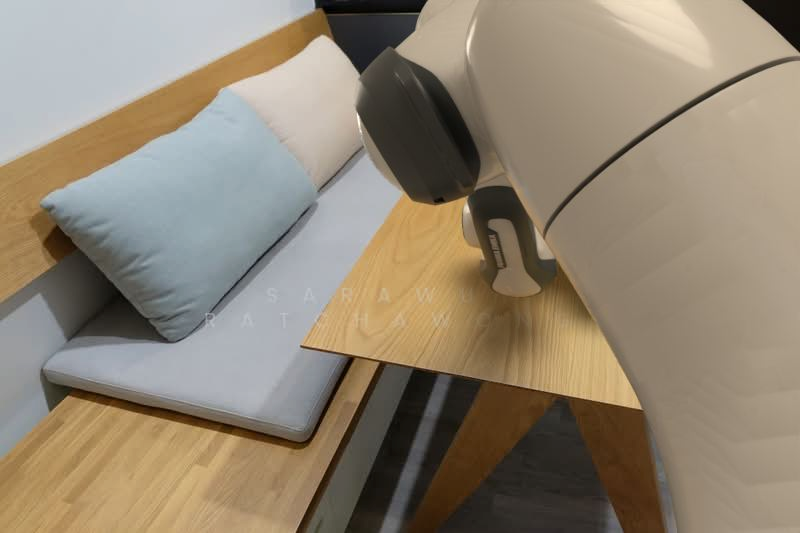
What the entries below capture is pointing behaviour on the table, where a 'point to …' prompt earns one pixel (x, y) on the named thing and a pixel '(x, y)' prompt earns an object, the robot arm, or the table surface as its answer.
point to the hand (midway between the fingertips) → (673, 226)
